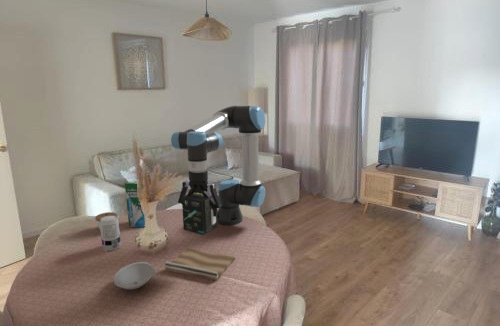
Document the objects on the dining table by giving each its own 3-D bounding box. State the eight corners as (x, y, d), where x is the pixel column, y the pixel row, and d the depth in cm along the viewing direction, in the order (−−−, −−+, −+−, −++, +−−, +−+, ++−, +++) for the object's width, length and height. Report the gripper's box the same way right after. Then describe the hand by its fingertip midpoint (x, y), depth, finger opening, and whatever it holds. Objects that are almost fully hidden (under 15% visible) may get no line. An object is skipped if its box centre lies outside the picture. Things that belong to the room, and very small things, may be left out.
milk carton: (151, 220, 190) (147, 178, 185) (144, 227, 182) (140, 183, 176) (136, 220, 191) (132, 178, 186) (128, 226, 183) (124, 183, 177)
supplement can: (98, 250, 157) (95, 220, 153) (111, 242, 164) (108, 214, 161) (112, 253, 154) (108, 222, 150) (124, 245, 161) (121, 216, 158)
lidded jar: (103, 224, 186) (102, 208, 184) (121, 225, 184) (120, 209, 182) (92, 232, 175) (90, 216, 173) (111, 234, 174) (109, 217, 172)
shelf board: (188, 250, 155) (187, 243, 155) (235, 259, 147) (235, 252, 146) (165, 269, 139) (164, 262, 138) (216, 280, 130) (216, 273, 130)
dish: (124, 273, 137) (123, 262, 136) (159, 272, 137) (158, 261, 136) (107, 300, 119) (106, 287, 118) (147, 299, 120) (146, 286, 119)
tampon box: (217, 227, 139) (216, 194, 136) (203, 235, 131) (202, 200, 128) (197, 222, 145) (196, 190, 141) (183, 230, 137) (181, 196, 134)
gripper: (167, 170, 133) (170, 220, 138) (221, 175, 125) (222, 228, 130) (177, 166, 140) (180, 214, 145) (229, 170, 132) (230, 221, 136)
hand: (200, 221), depth 137 cm, fingers closed on tampon box, 12 cm apart
